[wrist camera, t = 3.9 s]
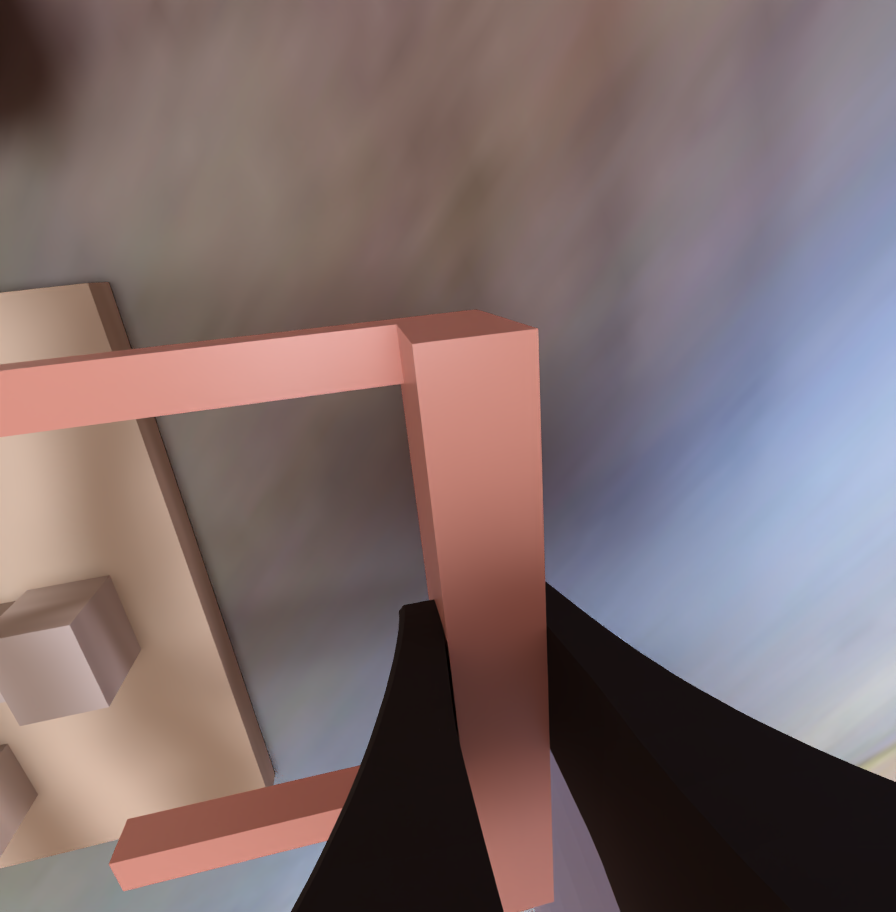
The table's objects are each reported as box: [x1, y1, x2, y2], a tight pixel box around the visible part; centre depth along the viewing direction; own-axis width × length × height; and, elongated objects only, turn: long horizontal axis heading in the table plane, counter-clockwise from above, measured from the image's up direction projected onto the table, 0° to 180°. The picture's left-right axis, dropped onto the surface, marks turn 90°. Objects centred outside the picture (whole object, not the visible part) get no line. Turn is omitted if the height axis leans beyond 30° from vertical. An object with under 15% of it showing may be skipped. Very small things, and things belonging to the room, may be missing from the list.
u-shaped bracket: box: [0, 309, 554, 912], centre depth 9 cm, size 10×12×3 cm
